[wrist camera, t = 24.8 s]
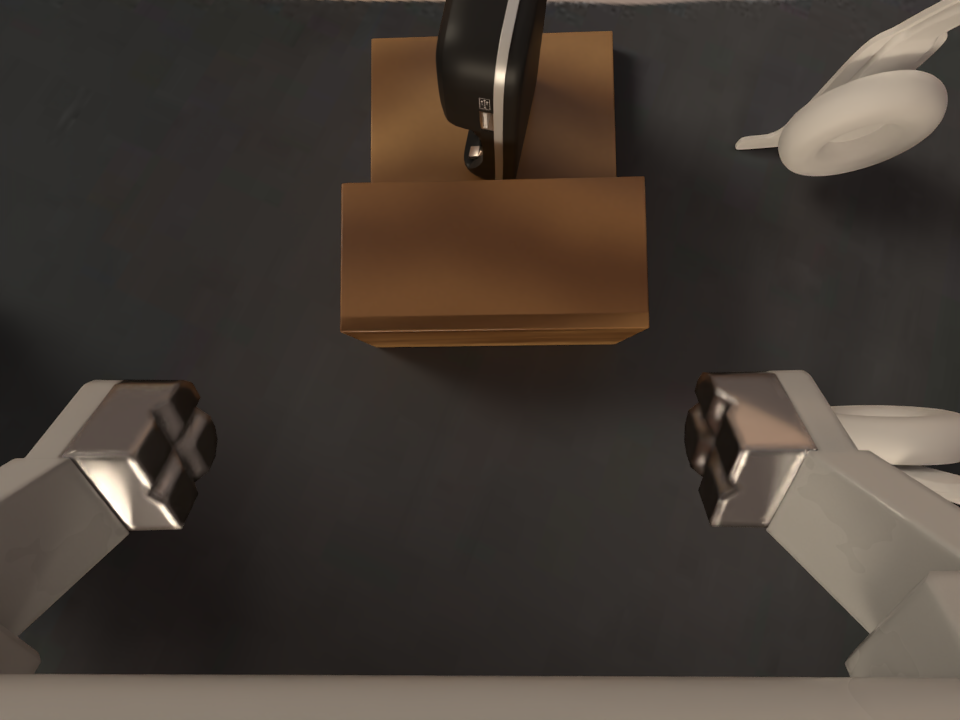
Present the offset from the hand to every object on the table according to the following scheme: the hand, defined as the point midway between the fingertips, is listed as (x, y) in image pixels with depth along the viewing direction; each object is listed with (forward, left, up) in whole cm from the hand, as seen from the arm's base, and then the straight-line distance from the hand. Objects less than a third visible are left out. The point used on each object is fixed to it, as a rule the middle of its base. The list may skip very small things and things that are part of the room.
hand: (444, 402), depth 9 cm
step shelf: (-3, +12, -24) cm, 26 cm away
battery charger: (-4, +15, -22) cm, 27 cm away
